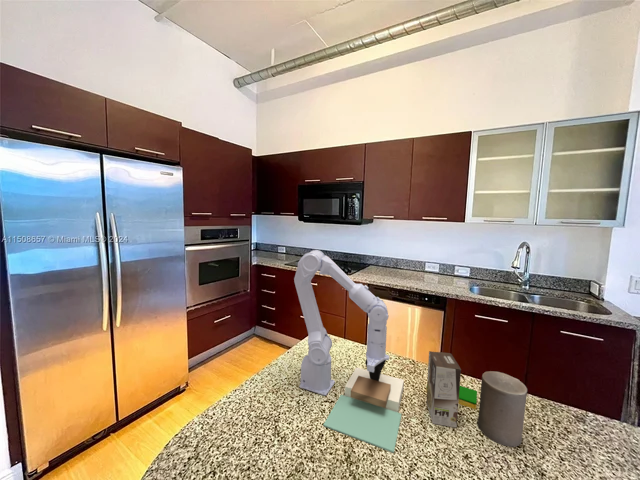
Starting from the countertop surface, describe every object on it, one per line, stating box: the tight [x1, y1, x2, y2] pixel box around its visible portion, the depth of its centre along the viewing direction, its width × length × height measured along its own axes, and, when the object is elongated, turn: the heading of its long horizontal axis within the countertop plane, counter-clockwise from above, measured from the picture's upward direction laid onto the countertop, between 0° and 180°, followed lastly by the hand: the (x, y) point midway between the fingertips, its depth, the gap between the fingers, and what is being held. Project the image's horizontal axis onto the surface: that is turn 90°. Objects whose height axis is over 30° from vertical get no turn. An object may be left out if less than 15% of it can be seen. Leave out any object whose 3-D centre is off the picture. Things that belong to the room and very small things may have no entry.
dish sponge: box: [425, 385, 478, 410], centre depth 83 cm, size 7×14×2 cm, turn 58°
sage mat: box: [322, 394, 403, 454], centre depth 71 cm, size 18×14×1 cm
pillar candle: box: [477, 370, 528, 448], centre depth 68 cm, size 10×10×15 cm
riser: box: [344, 367, 405, 413], centre depth 83 cm, size 16×12×3 cm
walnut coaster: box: [351, 376, 391, 408], centre depth 78 cm, size 10×8×2 cm
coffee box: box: [426, 351, 462, 428], centre depth 74 cm, size 9×6×16 cm
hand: (374, 382), depth 82 cm, fingers closed
